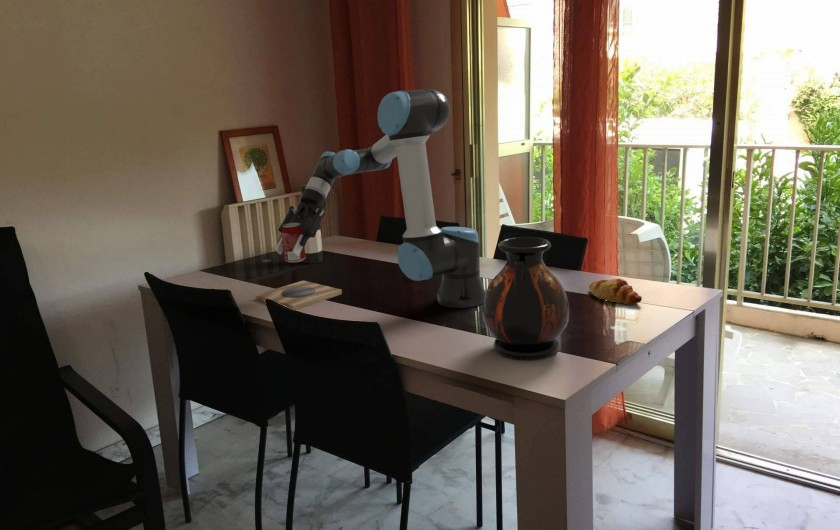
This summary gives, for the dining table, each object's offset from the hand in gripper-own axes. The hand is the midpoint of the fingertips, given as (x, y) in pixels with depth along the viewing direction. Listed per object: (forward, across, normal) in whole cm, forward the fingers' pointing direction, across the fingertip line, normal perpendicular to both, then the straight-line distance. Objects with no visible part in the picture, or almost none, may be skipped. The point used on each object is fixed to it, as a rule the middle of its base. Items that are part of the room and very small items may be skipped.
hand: (286, 253), depth 234 cm
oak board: (+9, 0, -14) cm, 16 cm away
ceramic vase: (+17, -86, -6) cm, 88 cm away
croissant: (-18, -94, -40) cm, 103 cm away
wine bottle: (-18, +27, -41) cm, 52 cm away
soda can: (0, 0, -5) cm, 5 cm away
